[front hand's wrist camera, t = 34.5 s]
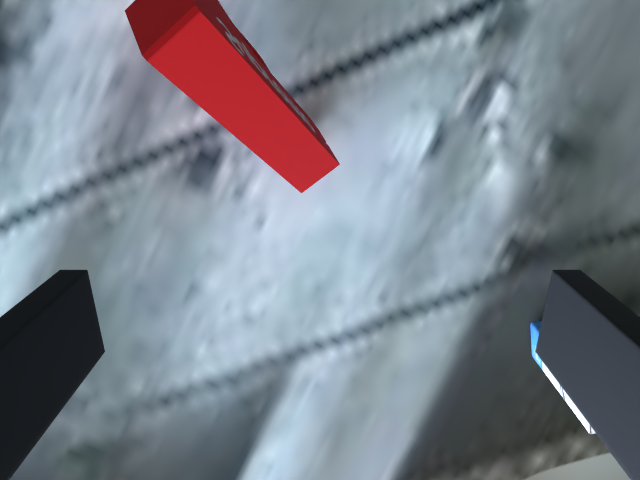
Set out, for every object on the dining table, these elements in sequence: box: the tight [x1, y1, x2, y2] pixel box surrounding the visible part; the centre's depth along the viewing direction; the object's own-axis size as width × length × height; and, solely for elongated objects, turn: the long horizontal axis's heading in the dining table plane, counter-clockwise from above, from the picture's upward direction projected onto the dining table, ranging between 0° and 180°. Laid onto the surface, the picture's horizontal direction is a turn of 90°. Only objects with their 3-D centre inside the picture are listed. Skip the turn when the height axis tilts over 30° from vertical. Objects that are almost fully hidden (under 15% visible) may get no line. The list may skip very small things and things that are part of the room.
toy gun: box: [125, 0, 339, 193], centre depth 36 cm, size 18×4×15 cm
